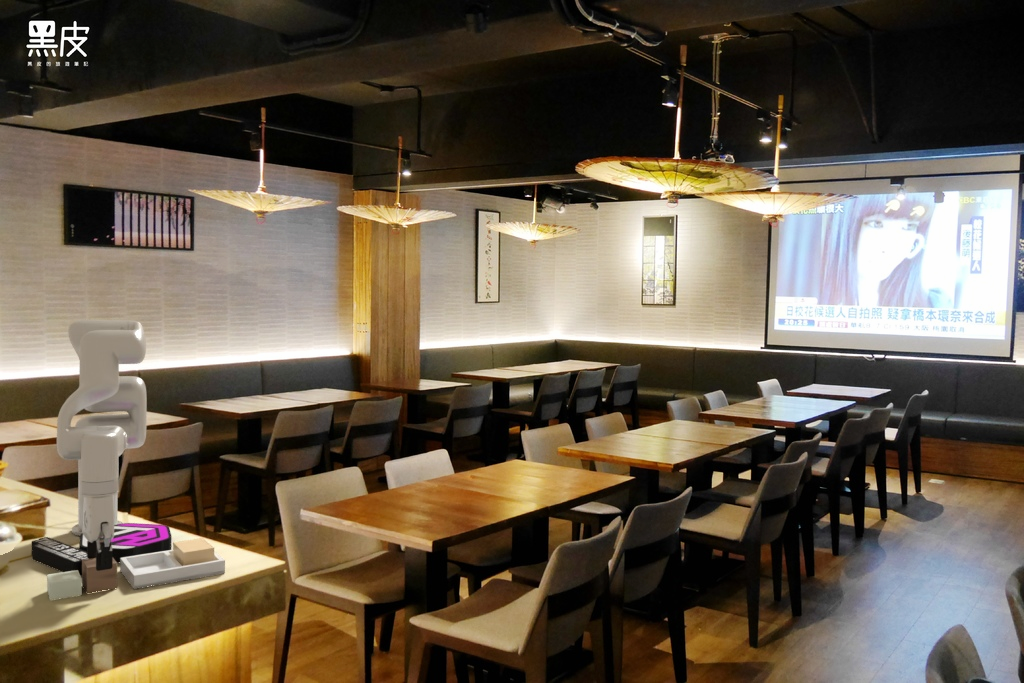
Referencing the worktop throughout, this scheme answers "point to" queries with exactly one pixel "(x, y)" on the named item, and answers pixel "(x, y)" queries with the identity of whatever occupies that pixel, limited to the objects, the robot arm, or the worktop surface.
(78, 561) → the sign
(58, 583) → the sage box
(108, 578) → the walnut block
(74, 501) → the worktop surface
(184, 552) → the box
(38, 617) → the worktop surface
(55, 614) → the worktop surface
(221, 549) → the worktop surface
